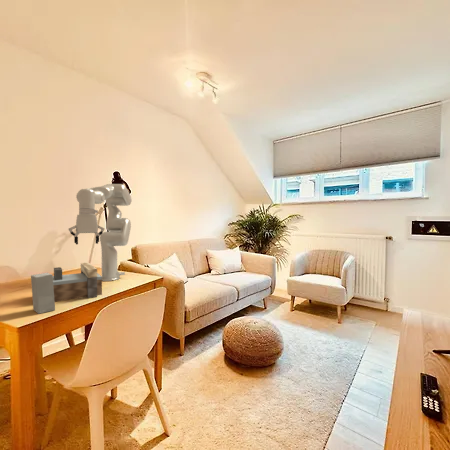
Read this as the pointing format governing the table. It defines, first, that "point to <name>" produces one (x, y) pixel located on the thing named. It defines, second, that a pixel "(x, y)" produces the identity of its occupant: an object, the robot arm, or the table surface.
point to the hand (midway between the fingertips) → (87, 243)
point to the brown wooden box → (78, 289)
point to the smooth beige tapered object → (89, 270)
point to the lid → (69, 277)
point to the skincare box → (43, 292)
